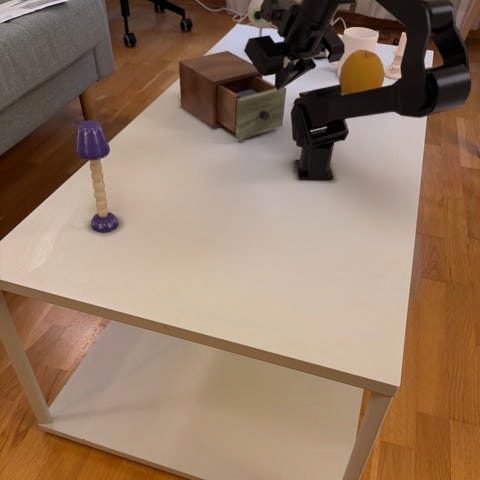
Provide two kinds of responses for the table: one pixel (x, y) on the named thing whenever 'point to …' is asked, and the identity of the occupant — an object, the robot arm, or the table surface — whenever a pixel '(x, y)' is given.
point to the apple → (361, 72)
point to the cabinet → (209, 82)
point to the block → (246, 93)
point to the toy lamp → (96, 170)
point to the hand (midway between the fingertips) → (277, 88)
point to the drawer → (249, 106)
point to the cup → (356, 43)
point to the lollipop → (257, 16)
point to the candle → (397, 59)
